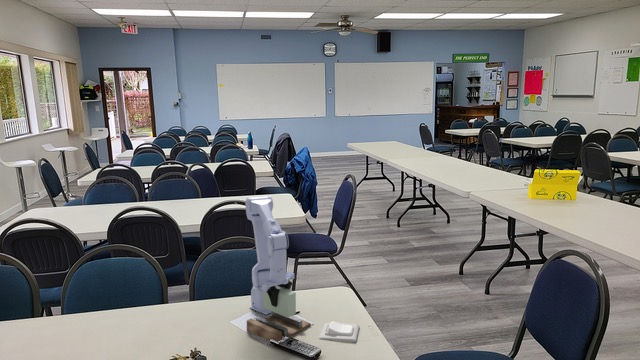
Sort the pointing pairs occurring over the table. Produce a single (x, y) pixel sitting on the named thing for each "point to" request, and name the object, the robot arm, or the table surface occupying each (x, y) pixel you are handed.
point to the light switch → (339, 332)
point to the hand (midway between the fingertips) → (278, 303)
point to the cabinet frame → (276, 326)
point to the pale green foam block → (282, 302)
